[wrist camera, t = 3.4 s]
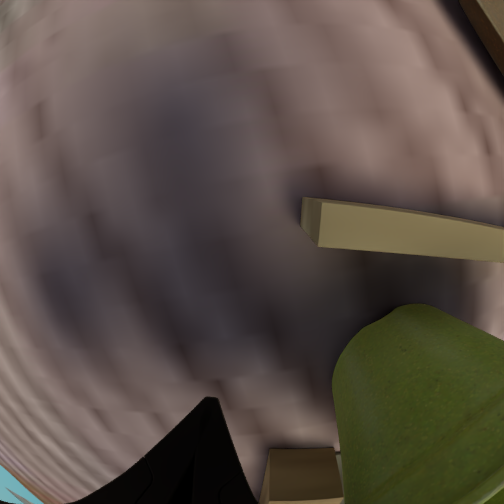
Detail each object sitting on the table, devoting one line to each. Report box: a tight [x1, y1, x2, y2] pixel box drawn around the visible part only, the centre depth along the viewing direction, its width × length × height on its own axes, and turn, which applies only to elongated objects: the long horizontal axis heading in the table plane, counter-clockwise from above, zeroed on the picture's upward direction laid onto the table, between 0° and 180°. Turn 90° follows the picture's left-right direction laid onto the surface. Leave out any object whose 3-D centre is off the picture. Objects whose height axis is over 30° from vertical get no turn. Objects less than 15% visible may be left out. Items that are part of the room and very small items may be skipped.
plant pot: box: [332, 304, 504, 504], centre depth 7 cm, size 9×9×9 cm
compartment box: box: [258, 197, 504, 504], centre depth 9 cm, size 23×28×6 cm
